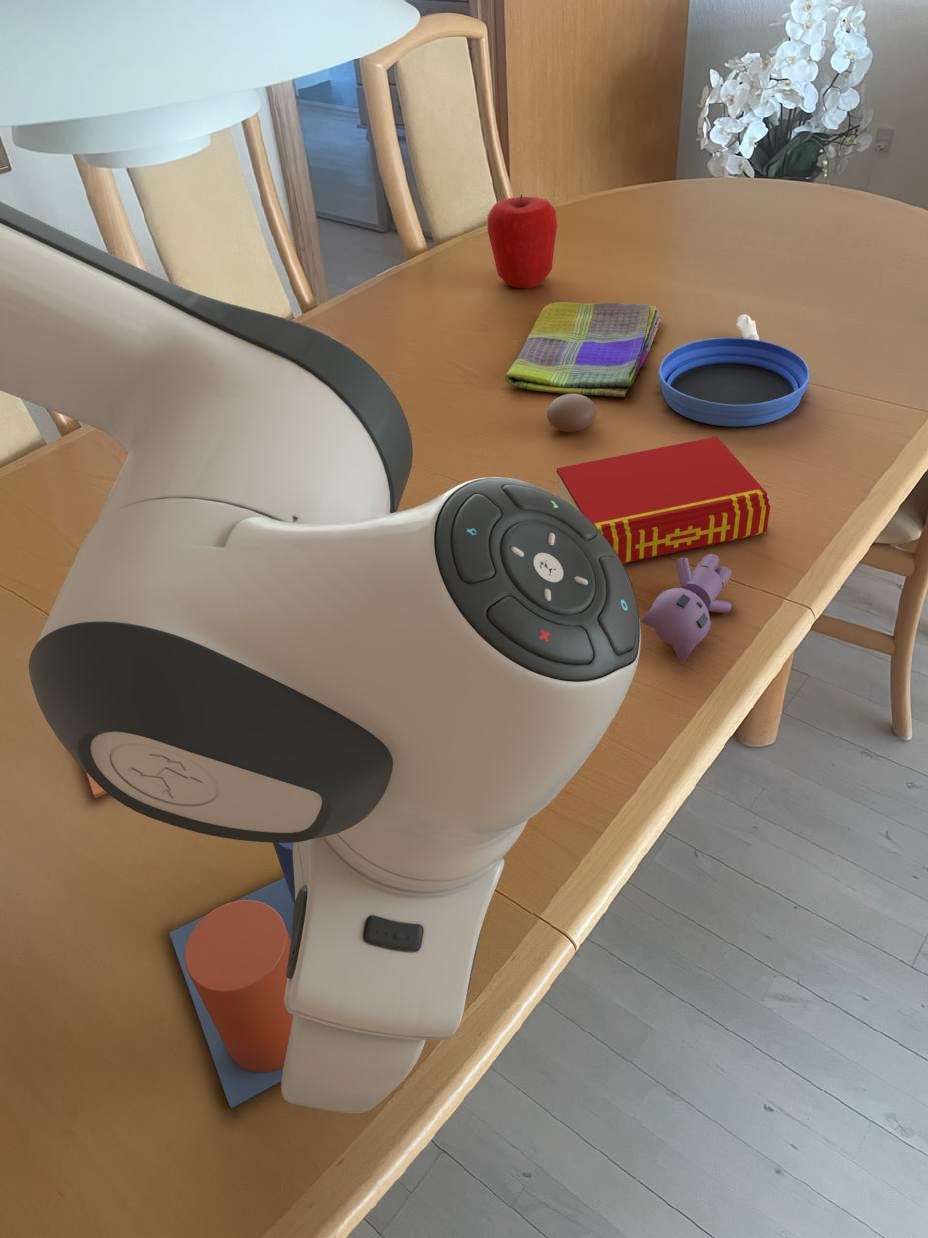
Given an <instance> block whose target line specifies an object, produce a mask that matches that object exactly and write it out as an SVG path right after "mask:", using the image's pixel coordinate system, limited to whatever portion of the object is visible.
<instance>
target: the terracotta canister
mask: <svg viewBox="0 0 928 1238" xmlns="http://www.w3.org/2000/svg"><path fill="white" fill-rule="evenodd" d="M205 915H206V916H205ZM205 915H204V916H205V917H204V918H203V919H202V920H201V921H200V922H199V923H198V924H197V925H196V927H195V928H194V929H193V931H192V933H191V934H190V937H189V939H188V941H187V944H186V948H185V957H184V958H185V965H186V969H187V971H188V974H189V976H190V978H191V980H192V982H193V984H194V986H195V988H196V990H197V992H198V994H199V995H200V997H201V999H202V1001H203V1003H204V1005H205V1007H206V1009H207V1011H208V1013H209V1015H210V1017H211V1019H212V1021H213V1023H214V1025H215V1027H216V1029H217V1031H218V1033H219V1035H220V1037H221V1039H222V1041H223V1043H224V1045H225V1047H226V1049H227V1051H228V1053H229V1055H230V1056H231V1058H232V1059H233V1060H234V1061H235V1062H236V1063H237V1064H238V1065H239V1066H241V1067H243V1068H245V1069H247V1070H250V1071H254V1072H271V1071H275V1070H278V1069H281V1068H283V1067H284V1063H285V1058H286V1053H287V1048H288V1043H289V1038H290V1032H291V1026H292V1019H293V1014H290V1013H288V1012H287V1010H286V1008H285V1004H284V996H285V990H286V984H287V979H288V978H287V977H286V972H287V965H288V959H289V952H290V944H291V941H290V938H289V935H288V932H287V930H286V927H285V924H284V921H283V920H282V918H281V916H280V915H279V914H278V912H276V911H275V910H274V909H273V908H272V907H270V906H268V905H266V904H264V903H261V902H258V901H252V900H242V901H237V900H234V901H232V902H228V903H225V904H223V905H221V906H218V907H216V908H215V909H213V910H211V911H210V912H208V914H205Z"/></svg>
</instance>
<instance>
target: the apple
mask: <svg viewBox="0 0 928 1238" xmlns="http://www.w3.org/2000/svg"><path fill="white" fill-rule="evenodd" d="M486 216H487V219H486V220H487V225H486V226H487V227H486V230H487V234H488V239H489V243H490V246H491V251H492V255H493V259H494V260H493V261H494V263H495V268H496V272H497V276H498V277H499V278H500V279H501V280H502V281H503V282H504V283H505V284H506V285H508V286H509V287H511V288H515V289H531V288H535V287H537V286H538V285H540V284H541V283H542V282H543V281H544V280H545V279H546V278H547V277H548V275H550V273H551V271H552V269H553V261H554V254H555V253H554V252H555V245H556V237H557V231H558V221H557V211H556V209H555V207H554V206H553V204H551V203H550V201H549V200H547V199H546V198H543V197H539V196H538V197H537V196H523V194H522V193H521V194H520V196H518V197H509V198H503V199H501V200H499V201H496V202H495V203H494V205H492V207H491V209H490V211H489V212H488V214H487V215H486Z"/></svg>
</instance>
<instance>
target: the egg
mask: <svg viewBox="0 0 928 1238" xmlns="http://www.w3.org/2000/svg"><path fill="white" fill-rule="evenodd" d="M596 407H597V406H596V405H595V402H593V400H591V399H590V398H589V397H588V396H585V395H584V394H569V393H566V394H563V395H560V396H557V397H556V398H554V400H553V401H551V402H550V404H549V405H548V407H547V410H546V418H547V420H548V422H549V424H550V425H551V426H552V427H553V428H554V429H556V430H559V431H561V432H565V433H576V432H580V431H583V430H585V429H587V428H589V427H590V426H591V425H592V424H593V423H594V421H595V419H596V416H597V408H596Z"/></svg>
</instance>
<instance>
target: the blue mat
mask: <svg viewBox="0 0 928 1238" xmlns="http://www.w3.org/2000/svg"><path fill="white" fill-rule="evenodd" d="M242 900H252V901H258V902H261V903H264V904H266V905H268V906H270V907H272V908H273V909H274V910H275V911H276V912H278V914H279V915H280V916H281V918H282V920H283V921H284V924H285V927H286V930H287V932H288V935H289V938H290V941H291V936H292V925H293V910H294V903H293V900H292V897H291V894H290V892H289V889H288V886H287V883H286V880H285V877H282V878H281V879H278V880H276V881H274V882H272V883H270V884H267V885H266V886H264V887H261V888H260V889H258V890H255V891H253V892H251V893H249V894H247V895H245V896H243V897H241V898H239V899H237V900H236V901H242ZM206 915H207V914H205V915H204V916H200V917H199V918H197V919H195V920H193V921H191V922H189V923H187V924H185V925H183V926H180V927H178V928H177V929H174V930H172V931H170V932H169V933H168V934H169V937H170V940H171V942H172V945H173V948H174V949H173V950H174V951H175V954H176V957H177V960H178V963H179V965H180V966H179V967H180V968H181V972H182V974H183V977H184V980H185V982H186V985H187V988H188V991H189V994H190V997H191V1000H192V1003H193V1006H194V1009H195V1012H196V1014H197V1018H198V1020H199V1023H200V1026H201V1029H202V1032H203V1034H204V1038H205V1040H206V1043H207V1046H208V1049H209V1052H210V1055H211V1058H212V1060H213V1063H214V1067H215V1069H216V1072H217V1075H218V1077H219V1080H220V1084H221V1086H222V1090H223V1093H224V1096H225V1098H226V1101H227V1103H228V1107H229V1108H230V1109H234V1108H235V1107H237V1106H239V1105H241V1104H242V1103H244V1102H246V1101H248V1100H250V1099H253V1097H255V1096H257V1095H259V1094H261V1093H262V1092H264V1091H266V1090H268V1089H270V1088H271V1087H273V1086H275V1085H277V1084H279V1083H281V1080H282V1072H283V1068H284V1067H283V1068H281V1069H278V1070H275V1071H271V1072H254V1071H250V1070H247V1069H245V1068H243V1067H241V1066H239V1065H238V1064H237V1063H236V1062H235V1061H234V1060H233V1059H232V1058H231V1056H230V1055H229V1053H228V1051H227V1049H226V1047H225V1045H224V1043H223V1041H222V1039H221V1037H220V1035H219V1033H218V1031H217V1029H216V1027H215V1025H214V1023H213V1021H212V1019H211V1017H210V1015H209V1013H208V1011H207V1009H206V1007H205V1005H204V1003H203V1001H202V999H201V997H200V995H199V994H198V992H197V990H196V988H195V986H194V984H193V982H192V980H191V978H190V976H189V974H188V971H187V969H186V965H185V958H184V957H185V948H186V944H187V941H188V939H189V937H190V934H191V933H192V931H193V929H194V928H195V927H196V925H197V924H198V923H199V922H200V921H201V920H202V919H203V918H204V917H205V916H206Z"/></svg>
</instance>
